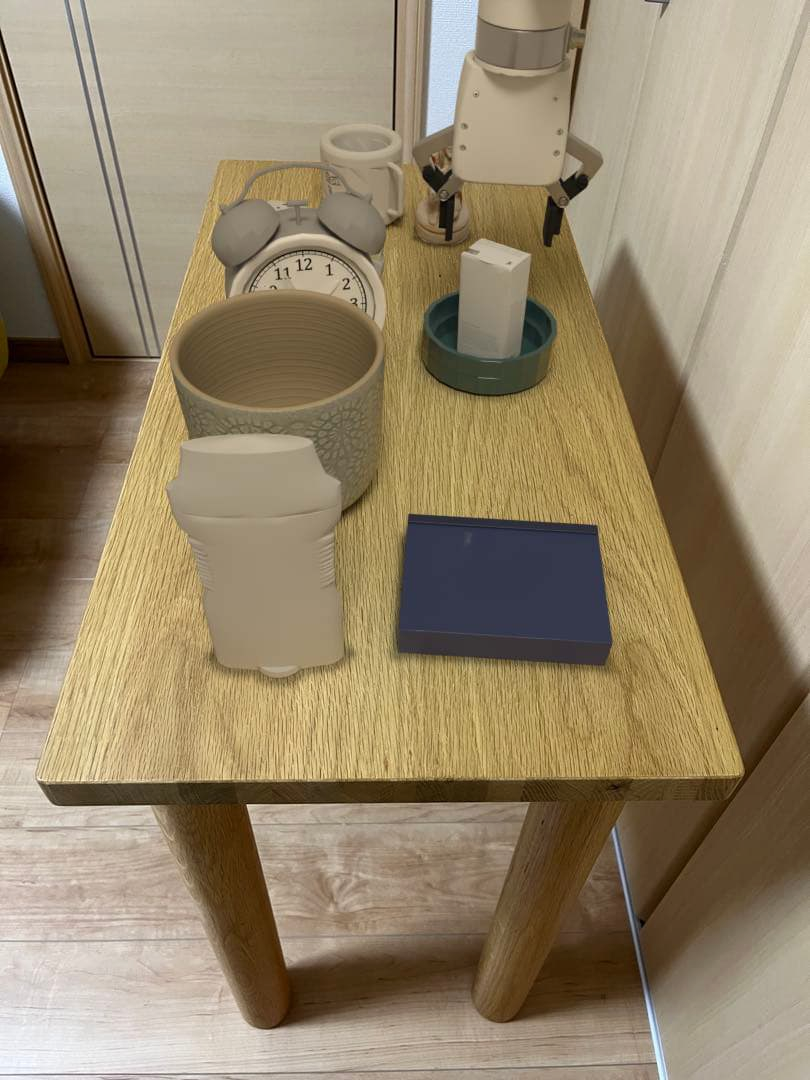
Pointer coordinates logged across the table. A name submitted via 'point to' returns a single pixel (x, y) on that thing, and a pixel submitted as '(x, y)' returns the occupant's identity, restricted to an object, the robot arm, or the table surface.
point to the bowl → (487, 371)
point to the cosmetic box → (492, 300)
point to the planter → (287, 376)
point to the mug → (365, 165)
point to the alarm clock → (304, 245)
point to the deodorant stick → (263, 548)
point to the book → (504, 590)
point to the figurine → (431, 205)
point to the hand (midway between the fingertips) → (497, 237)
